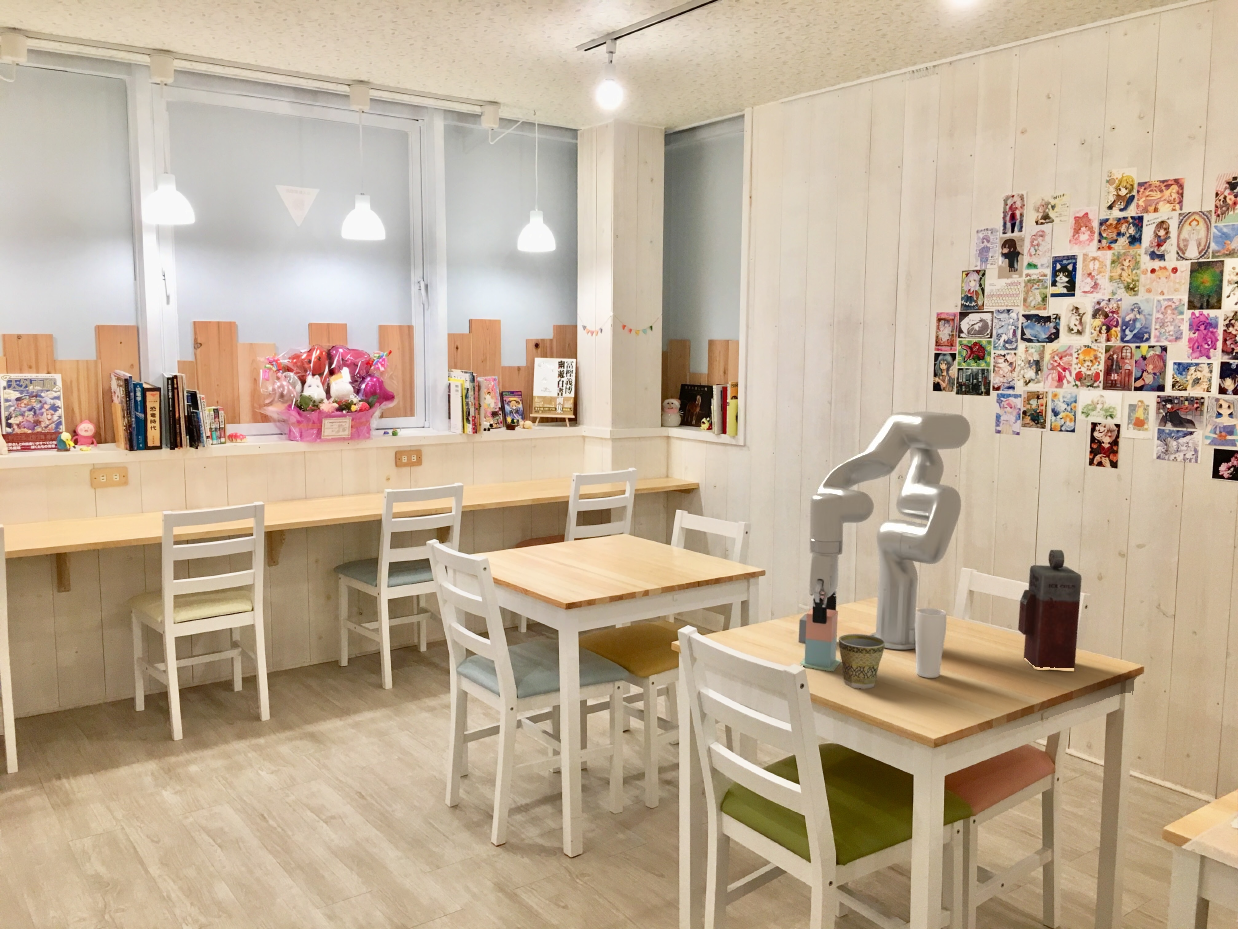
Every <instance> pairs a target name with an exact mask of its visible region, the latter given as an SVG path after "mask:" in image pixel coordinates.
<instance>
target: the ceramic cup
mask: <svg viewBox="0 0 1238 929" xmlns="http://www.w3.org/2000/svg"><path fill="white" fill-rule="evenodd" d="M870 635H871V634H863V633H852V634H851V633H850V634H849V633H848V634H843V635H841V636H839V638H838V646H839V654H840V659H841V667H842V675H843V682H844V685H846V686H849V687H850V688H852V687H853V688H854V689H859V688H861V689H860V690H867V689H873V688H874V687H875V684H876V681H877V674H878V670H879V668H880V667H879V666H880V663H881V659H882V658H883V655H884V651H885V648H884V646H885V642H884V641H883V640H882V639H880V638H878V637H874V636H870Z"/></svg>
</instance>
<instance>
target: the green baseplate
mask: <svg viewBox="0 0 1238 929" xmlns="http://www.w3.org/2000/svg"><path fill="white" fill-rule="evenodd" d="M840 663H842V660H841V658H840V659H839V658H836V660H835V662H834V663H833V664H832V665H831V667H825V666H818V665H812V664H805V657H804V658H803V659H802V660H801V662H799V664H801V665H803V666H805V667H804V668H806V669H812V668H814V669H813V670H819V671H825V670H826V671H827V672H832V671H833V672H835V670H836V669H837V668H838V666H839V665H840ZM826 671H825V672H826Z"/></svg>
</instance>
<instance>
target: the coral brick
mask: <svg viewBox="0 0 1238 929" xmlns="http://www.w3.org/2000/svg"><path fill="white" fill-rule="evenodd" d="M806 614H807V618H806V639H812V640H820V641H827V642H832V641H833V639H834V638H835V637H836V636H837V637H838V635H837V634H838V616H839V611H838V610H837V609H836V610H828V609H827V623H826V624H820V623H813V621H812V618H813V607H812V608H811V609H810V610H808V612H806Z"/></svg>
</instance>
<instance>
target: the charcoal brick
mask: <svg viewBox="0 0 1238 929" xmlns="http://www.w3.org/2000/svg"><path fill="white" fill-rule="evenodd" d="M806 618H807V613H805V614H804V615H803V616H802V617H801V618H800V619H799V621H798V623H799V625H798V643H801V642H802V644H805V641H806Z"/></svg>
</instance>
